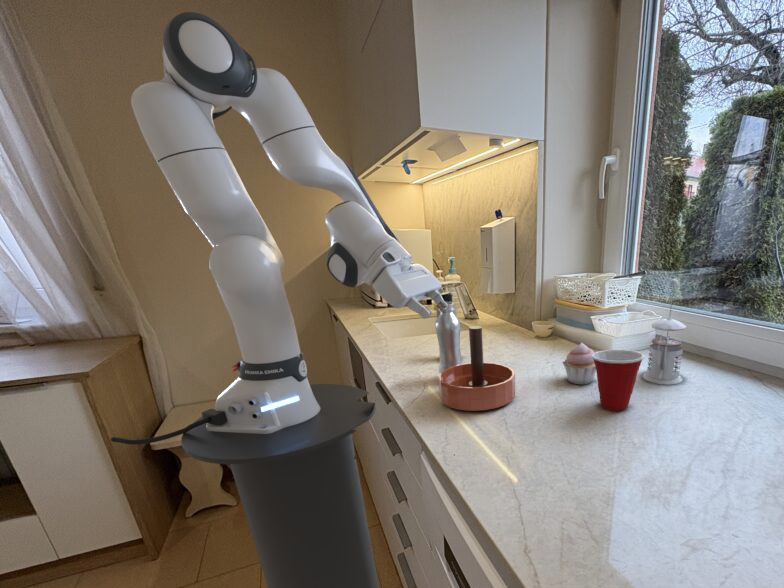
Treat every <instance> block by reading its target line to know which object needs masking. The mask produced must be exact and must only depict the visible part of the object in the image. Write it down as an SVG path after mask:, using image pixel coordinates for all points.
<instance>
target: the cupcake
mask: <svg viewBox="0 0 784 588" xmlns="http://www.w3.org/2000/svg"><path fill="white" fill-rule="evenodd" d="M593 353H595V351H594V350H593V349H591V348H590V347H588V346H587V345H586V344H584V343H583V342H580V343H579V345H577V346H575V347H572V349H570V351H569V353H567V355H566V359H564V361H562V365H563V367H564V369H565V372H566V377H567V380H568V382H569V383H571V384H575V385H589V384H591V383H592V382H593V381H594V378H595V375H596V373H597V372H596V367H595V363H594V360H593V358H592V354H593Z"/></svg>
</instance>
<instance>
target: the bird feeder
mask: <svg viewBox="0 0 784 588" xmlns="http://www.w3.org/2000/svg"><path fill="white" fill-rule="evenodd" d="M678 284H679V280H678V279H677V278H672V279H670V281H669V285H672V290H671V291H672V293H671V301H670V308H669V316H668V318H663V319H659V320H656V321H654V322H653V323H651V325H650V326H651V328H652V329H654V330H656V331H657V330H658V331H664V332H667V333H666V337H663V334H660V337H655V338H652V340H651V344H650V345H649V349H648V351H649V352H648V358H647V359H648V360H647V361H648V362H647V370H646V372H645V373H643V374H642V378H643V379H644V380H645V381H647V382H649V383H653V384H658V385H667V386H668V385H669V386H670V385H677V384H680V383H682V382H683V377H682V376H681V375H680V373H681V372H680V371H681V364H682V361H681V360H682V356H681V355H683V347H682V344H683V342H682V341H681V340H680V339H677V338H671V337H670V335H669V332H679V331H684V330H685V329H686V328H687V326H686V324H684V323H683V322H681V321H679V320H678V319H677V320H676V319H674V318H673V319H672V318H671V314H672V307H673V306H672V305H673V300H674V292H675V291H674V290H675V285H678ZM678 365H679V366H678Z"/></svg>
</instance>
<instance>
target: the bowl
mask: <svg viewBox="0 0 784 588" xmlns="http://www.w3.org/2000/svg"><path fill="white" fill-rule="evenodd" d="M483 366H484V380H485V381H487V382H488V386H484V387H469V382H470V381H472V373H471V362H467V363H463V364H460V365H456V366H452V367H449V368H447V369H445V370H443V371H442V372H441V373H440V374H438V379H437V380H438V389H439V399H440V401H441V403H442V404H444V405H445V406H446V407H448V408H452V409H455V410H458V411H468V412H481V411H489V410H494V409H497V408H500V407H503V406H505V405H507V404H509V403H511V402H513V400H514V399H515V397H516V373H515V370H514V369H512V368H511V367H510V366H507V365H504V364H501V363H496V362H488V361H487V362H484V361H483Z"/></svg>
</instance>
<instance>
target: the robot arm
mask: <svg viewBox="0 0 784 588" xmlns="http://www.w3.org/2000/svg"><path fill="white" fill-rule="evenodd" d="M162 45H163V46H162V50H161V54H162V65H163V75H164V76H163V78H162V79H160V80H159V81H150V82H146V83H143V84H141V85H139V86H138V87H136V88H135V89H134V91H133V93H132V94H131V97H130V104H131V108H132V111H133V114H134V116H135V120H136V122H137V124H138V127H139V130H140V132H141V134H142V136H143V138H144V140H145V143H146V145H147V146H148V149H149V151H150V153H151V154H152V155H153V158H154V160H155V162H156V163H157V165H158V167H159V169H160V170H161V172H162V174H163V175H164V177H165V180H166V181H167V183H168V184H169V187H170V188H171V189H172V191H173V193H174V195H175V197H176V198H177V200H178V201H179V203H180V205H181V207H182V208H183V210H184V212H185V213H186V214H187V216H189V217H190V219H191V220H192V221H193V222H194V224H195V225H196V226H197V227H198V229H199V230H200V232H201V233H202V234H203V235H204V237H205V238H206V240H207V241H208V242H209V244H210V245H211V247H212V249H211V252H210V255H209V260H208V261H209V263H208V264H209V270H210V273H211V275H212V277H213V279H214V281H215V284H216V286H217V289H218V291H219V294H220V296H221V300H222V302H223V304H224V306H225V308H226V310H227V313H228V315H229V317H230V320H231V323H232V325H233V328H234V332H235V336H236V339H237V343H238V348H239V350H240V355H241V358H242V359H240V360H238V361H237V362H236V364H234V365H232V366H231V369H232V372H233V373H234V372H236V371H238V376H237V378H235V379H234V380H233V382H231V383H230V384H229V385H228V386H226V388H225V389H224V390H223V391H221V392H220V394H218V396H217V398H216V400H215V404H214V406H215V408H209V409H206V410H204V411H201V417H202V416H203V419H202V420H199V421H197V422H195V421H194V422H195V423H193V422H192V423H190V424H188V425H186V426H185V427H183V428H181V429H178V430H175V431H172V432H169V433H165V434H162V435H159V436H153V437H148V438H142V439H140V438H139V439H131V438H124V437H119V436H112V437H110V441H111V442H113V443H120V444H124V445H134V446H137V445H146V444H152V443H157V442H162V441H166V440H168V439H171V438H175V437H177V436H181V435H183V433H186V432H188V431H190V430H191V429H193V428H195V427H197V426H200V425H202V424H205V423H207V425H206V427H207V431H216V432H235V433H254V434H270V433H273V432H275V431H278V430H280V429H282V428H285V427H289V426H292V425H296V424H299V423H302V422H304V421H307V420H309V419H311V418H312V417H314V416H315V415H317V414H318V413H319V411H320V406H319V404H318V403H317V401H316V399H315V397H314V395H313V392H312V390H311V387H310V385H311V384H310V381H309V379H308V367H307V363H306V360H305V355H304V352H303V351H302V350H301V347H300V343H299V337H298V333H297V328H296V323H295V319H294V315H293V312H292V309H291V306H290V303H289V300H288V296H287V292H286V289H285V285H284V280H283V274H284V272H285V259H284V255H283V254H282V251H281V250H280V248H279V246H278V244H277V242H276V241H275V239H274V237H273V235H272V233H271V231H270V229H269V228H268V225H267V224H266V222H265V221H264V219H263V217H262V216H261V213H260V212H259V209H258V208H257V207H256V205H255V203H254V202H253V199H252V198H251V196H250V194H249V193H248V191H247V189H246V187H245V185H244V183H243V181H242V179H241V177H240V174H239V173H238V171H237V169H236V167H235V165H234V163H233V161H232V159H231V157H230V155H229V153H228V151H227V149H226V147H225V145H224V143H223V141H222V139H221V138H220V136H219V134H218V132H217V129H216V125H215V123H214V120H215V119H217V118H219V117H222V116H223V115H225V114H227V113H228V112H229V111H231V109H233V110H234V111H236V112H237V113H239V114H240V115H241V116H242V117H243V118H244V119H245V120H246V121H247V123H248V124H249V125H250V127H251V128H252V129H253V131H254V132H255V135H256V137H257V139H258V141H259V143H260V145H261V146H262V148H263V149H264V152H265V154H266V156H267V158H268V159H269V161H270V163H271V164H272V166H273V167H274V168H275V170H276V171H277V172H278V173H279V174H280V175H281V176H282V177H283V178H285V179H287V180H288V181H290V182H291V183H294V184H296V185H299V186H303V187H307V188H316V189H322V190H326V191H328V192H331V193H333V194H334V195H336V196H338V197H339V198H340V199H341V201H342V202H340V203H337V204H335V206H333V207H331V209H330V210H328V212H327V213H326V215H325V218H324V222H325V226H326V228H327V230H328V233H329V237H330V238H329V239H330V241H329V243H330V246H329V250H328V253H327V254H326V255H327V256H326V267H327V270H328V272H329V274H330V275H331V276H332V277H333V278H334V280H336V281H337V282H338V283H339V284H342V285H343V286H344V287H348V288H356V287H358V286H361V285H363V284H364V283H365V284H366V285H368V286H371V287H372V289H373V290H374V291H375V292H377V294H378V295H379V296H380V297H381V298H382V299H383V300H384V301H385V302H386V303H387V304H389V305H390V306H391V307H393V308H395V309H401V308H403V307H407V308H408V309H409V310H410V311H413V312H414V313H416V314H418V315H419V316H420V317H421V318H422V319H423V320H426V319H428V318H430V316H431V315H433V313H432V312H433V311H431V310H430V309H429V307H428V306H424V305H423V304H421V303H420V301H422V300H425V299H428V298H430V300H431V301H433V302H434V303H435V304H436V308H437V309H440V311H443V310H445V309H446V308H447V307H448V304H447V303H446V302H445V301H444V300H443V298H442V296H441V294H440V293H441V292H440V290H441V289H442V287H443V285H442V283H441V281H440V280H439V279H438V278H437V277H436V276H435V275H434V274H433V273H432V272H431V271H430V270H429V269H428V268H426V267H425V266H424V265H422V264H421V263H414V262H412V261H413V257H412V255H411V254H410V253H409V252H408V251H407V250H406V249H405V248H404V247H403V245H402V244H401V242H400V240H399V238H398V237H397V236H396V234H395V233H394V232H393V230H392V229H391V228H390V227H389V226H388V224H387V223H386V221H385V219H383V217H382V215H381V213H380V212H379V210H378V209H377V207H376V205H375V204H374V202H373V200H372V199H371V197H370V195H369V193H368V192H367V191H366V189H365V187H364V186H363V184H362V183H361V180H360V179H359V177H358V176H357V175H356V173H355V171H354V170H353V168H351V166H350V164H349V163H348V162H347V161H346V160H345V159H343V158H342V157H340V156H338V155H337V154H336V153H335V152H334V151H333V150H332V149H331V148H330V147H329V145H328V144H327V143H326V142H325V140H324V139H323V137H322V135H321V134H320V132H319V130H318V129H317V126H316V124H315V122H314V120H313V119H312V116H311V115H310V112H309V111H308V109H307V107H306V106H305V103H304V102H303V100H302V99H301V97H300V95H299V94H298V92H297V91H296V89H295V88H294V87H293V85H292V83H291V82H290V80H289V79H288V78H287V77H286V76H285V75H284V74H282V73H281V72H280V71H278V70H277V69H274V68H269V67H257V64H256V61H255V60H254V57H252V55H251V54H250V53H248V51H246V50H245V49H244V48H243V47H242V46H241V45H240V44H239V43H238V42H237V41H236V39H235V38H234V37H233V36H232V34H231V33H230V32H229V31H227V30H226V29H225V27H224V26H222V25H221V24H219V22H217V21H216V20H215V19H213V18H211V17H209V16H207V15H205V14H202V13H199V12H195V11H184V12H180V13H178V14H176V15H174V16H173V17H172V18H171V19H170V20H169V21H168V22H167V24H166V25H165V28H164V30H163V33H162ZM215 409H216V410H215Z"/></svg>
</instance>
